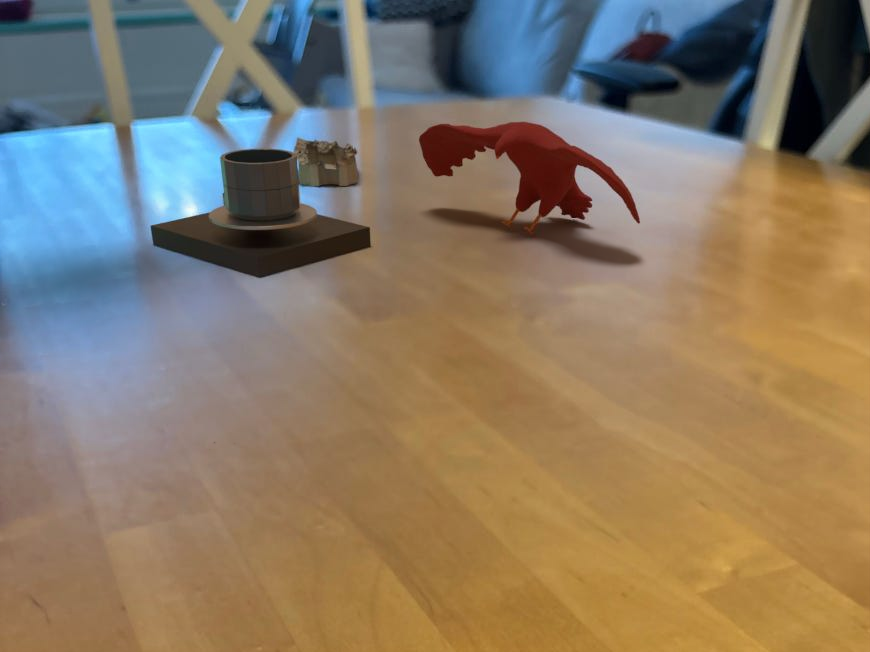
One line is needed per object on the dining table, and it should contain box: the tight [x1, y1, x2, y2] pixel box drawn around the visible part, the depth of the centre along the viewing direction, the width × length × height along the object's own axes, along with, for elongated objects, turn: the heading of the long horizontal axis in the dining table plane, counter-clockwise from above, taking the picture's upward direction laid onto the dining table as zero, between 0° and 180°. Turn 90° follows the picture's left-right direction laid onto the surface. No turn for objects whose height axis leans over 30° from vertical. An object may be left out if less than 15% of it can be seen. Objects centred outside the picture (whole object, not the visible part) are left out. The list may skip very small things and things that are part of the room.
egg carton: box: [293, 137, 359, 188], centre depth 133 cm, size 11×8×4 cm
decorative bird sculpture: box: [418, 121, 641, 237], centre depth 112 cm, size 28×9×15 cm
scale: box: [149, 192, 372, 279], centre depth 108 cm, size 17×14×4 cm
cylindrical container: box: [219, 148, 301, 221], centre depth 103 cm, size 7×7×5 cm
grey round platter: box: [208, 202, 318, 230], centre depth 104 cm, size 10×10×1 cm
